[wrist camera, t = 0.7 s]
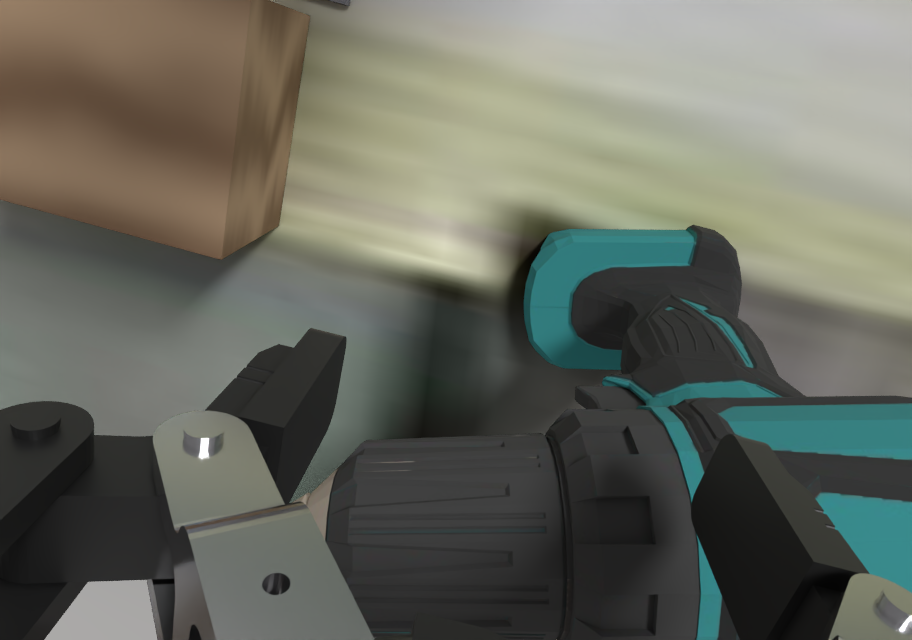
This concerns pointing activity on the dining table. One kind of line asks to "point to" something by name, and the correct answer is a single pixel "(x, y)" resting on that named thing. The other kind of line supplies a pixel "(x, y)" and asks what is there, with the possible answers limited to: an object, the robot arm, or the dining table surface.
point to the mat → (342, 2)
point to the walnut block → (151, 115)
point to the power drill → (611, 462)
